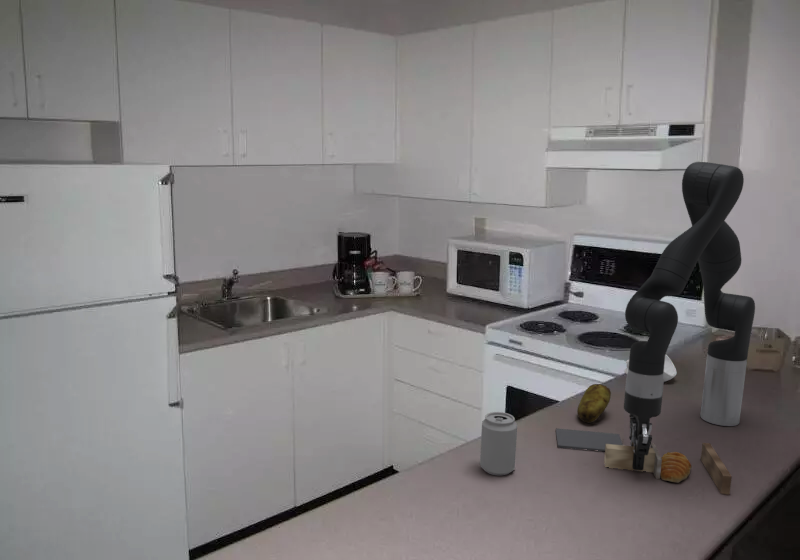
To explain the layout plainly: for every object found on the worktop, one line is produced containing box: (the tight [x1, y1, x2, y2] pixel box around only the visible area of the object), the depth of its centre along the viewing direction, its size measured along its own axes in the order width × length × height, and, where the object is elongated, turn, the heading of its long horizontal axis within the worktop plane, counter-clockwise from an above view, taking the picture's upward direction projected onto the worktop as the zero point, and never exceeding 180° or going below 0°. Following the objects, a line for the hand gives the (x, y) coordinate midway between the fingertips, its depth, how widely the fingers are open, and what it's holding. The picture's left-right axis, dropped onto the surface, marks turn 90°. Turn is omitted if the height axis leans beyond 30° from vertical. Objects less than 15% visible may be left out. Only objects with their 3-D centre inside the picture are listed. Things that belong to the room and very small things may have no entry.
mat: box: [555, 427, 624, 452], centre depth 159 cm, size 10×15×1 cm, turn 80°
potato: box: [577, 383, 612, 424], centre depth 174 cm, size 8×13×8 cm, turn 130°
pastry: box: [660, 451, 692, 484], centre depth 144 cm, size 9×7×4 cm
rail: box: [700, 442, 733, 496], centre depth 143 cm, size 16×2×4 cm, turn 170°
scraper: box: [603, 442, 662, 480], centre depth 146 cm, size 11×8×4 cm
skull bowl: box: [624, 354, 677, 383], centre depth 207 cm, size 10×14×12 cm
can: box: [479, 411, 518, 476], centre depth 143 cm, size 8×8×12 cm
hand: (636, 466), depth 146 cm, fingers closed on scraper, 2 cm apart
